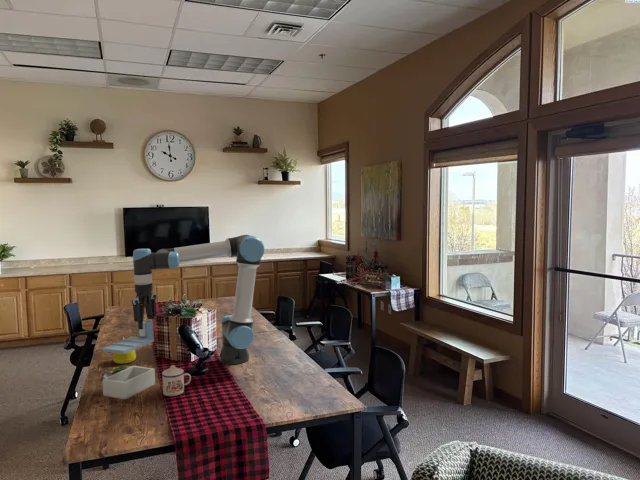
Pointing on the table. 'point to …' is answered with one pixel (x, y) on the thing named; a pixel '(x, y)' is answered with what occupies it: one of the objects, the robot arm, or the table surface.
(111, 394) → the tub
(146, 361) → the table surface
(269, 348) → the table surface
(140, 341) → the light blue l-shaped piece
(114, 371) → the salad plate
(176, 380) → the teacup with lid
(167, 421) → the table surface
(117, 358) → the mug
